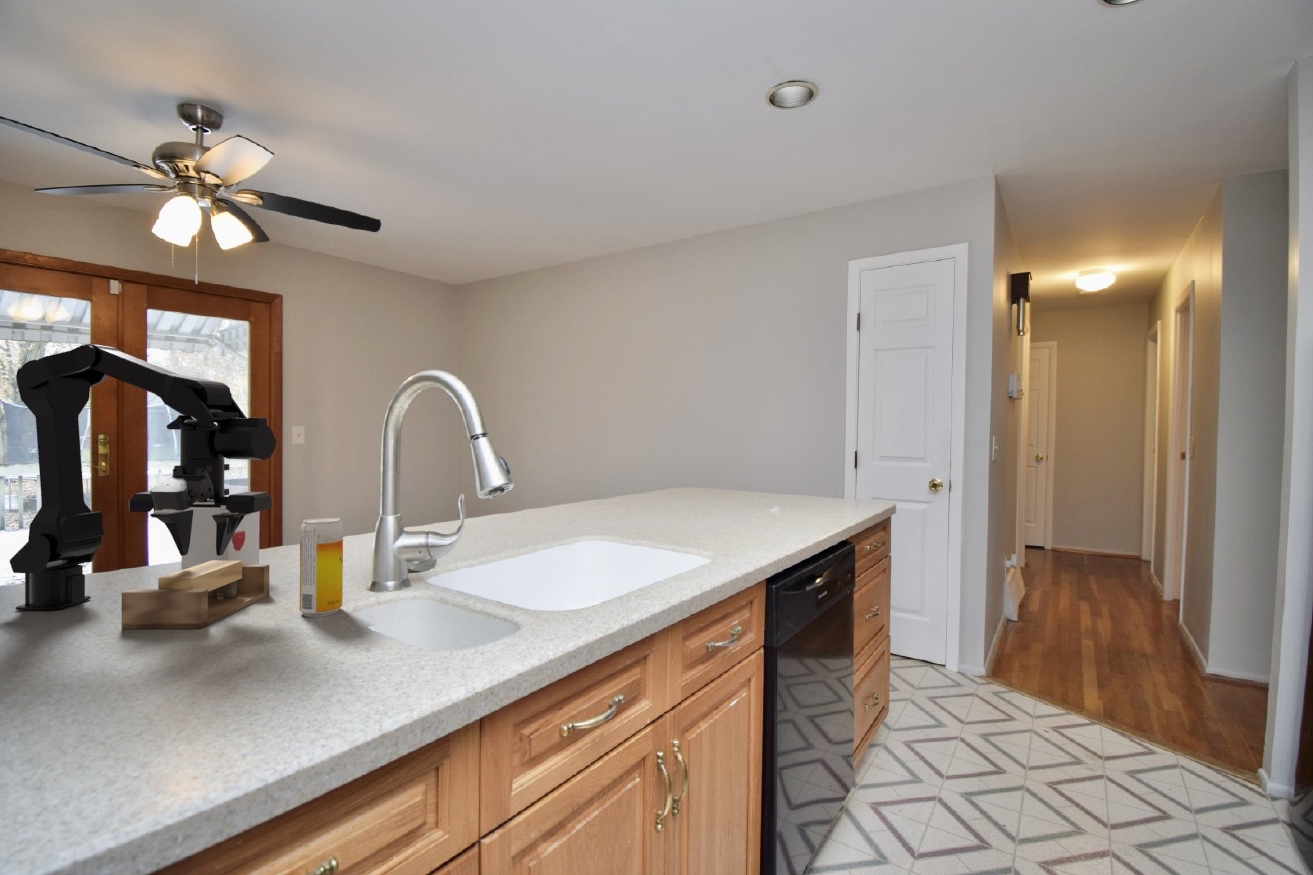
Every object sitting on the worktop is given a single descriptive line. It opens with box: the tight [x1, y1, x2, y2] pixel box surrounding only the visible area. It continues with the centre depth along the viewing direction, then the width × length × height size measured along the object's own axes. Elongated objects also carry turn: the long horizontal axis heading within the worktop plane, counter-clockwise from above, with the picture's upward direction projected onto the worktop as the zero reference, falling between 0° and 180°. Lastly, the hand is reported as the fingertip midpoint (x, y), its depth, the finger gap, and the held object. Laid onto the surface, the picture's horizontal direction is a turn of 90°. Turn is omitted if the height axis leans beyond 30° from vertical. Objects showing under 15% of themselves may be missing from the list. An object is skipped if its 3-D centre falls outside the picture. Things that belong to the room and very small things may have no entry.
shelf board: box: [157, 560, 242, 592], centre depth 98 cm, size 5×12×3 cm, turn 3°
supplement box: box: [180, 507, 261, 571], centre depth 116 cm, size 9×9×15 cm
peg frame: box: [121, 563, 270, 630], centre depth 99 cm, size 11×18×5 cm, turn 4°
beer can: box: [299, 516, 344, 618], centre depth 99 cm, size 6×6×15 cm
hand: (202, 555), depth 99 cm, fingers open, 5 cm apart
